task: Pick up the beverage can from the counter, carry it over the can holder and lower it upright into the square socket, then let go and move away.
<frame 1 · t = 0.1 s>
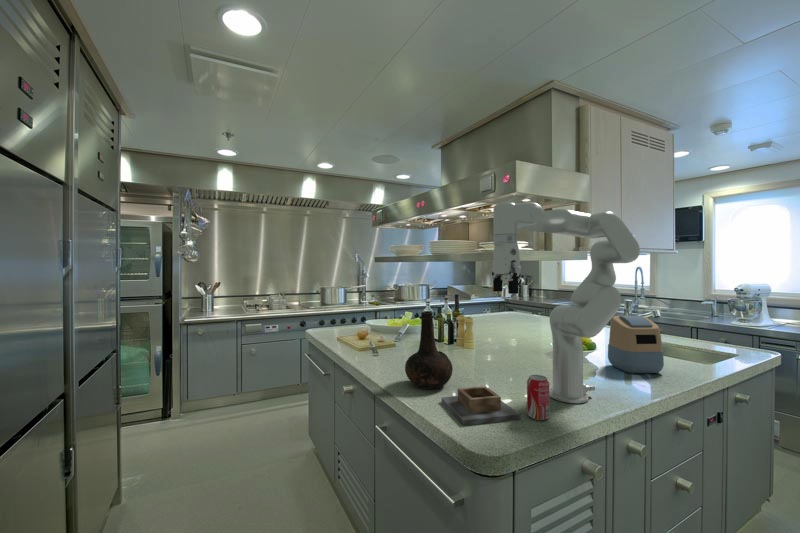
hand: (505, 292, 115), 37 cm above the counter, tool pointing down, fingers open, 9 cm apart
tan and blue appliance: (634, 370, 153), on the counter
can holder: (478, 410, 110), on the counter
dark brown vase: (428, 385, 133), on the counter
beverage can: (538, 418, 104), on the counter
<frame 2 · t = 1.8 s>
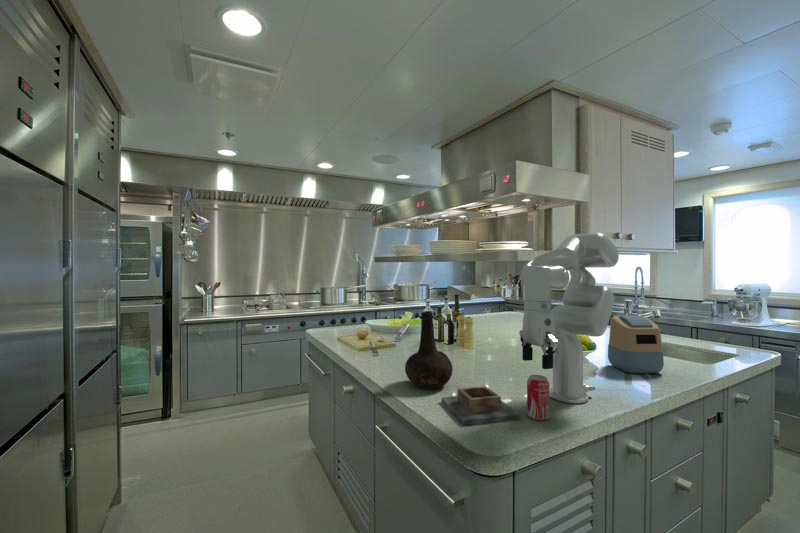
hand: (537, 364, 104), 16 cm above the counter, tool pointing down, fingers open, 9 cm apart
nothing on the counter moved.
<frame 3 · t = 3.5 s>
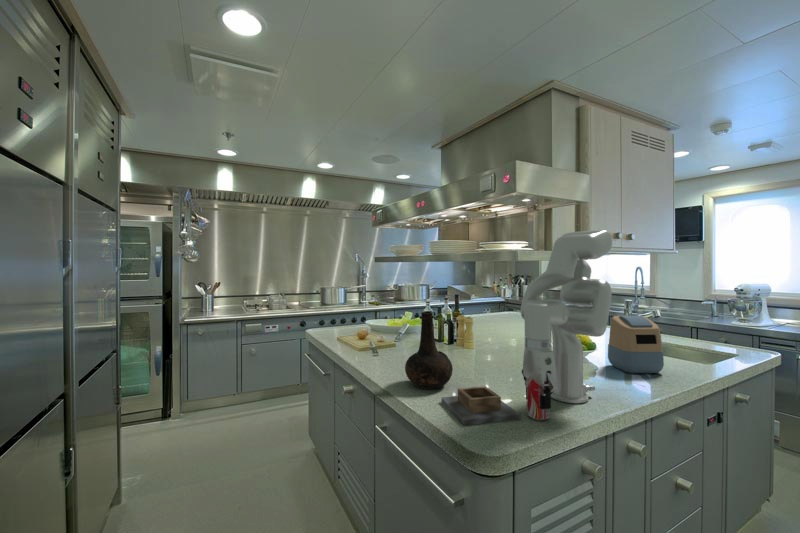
hand: (538, 403, 104), 4 cm above the counter, tool pointing down, fingers closed on beverage can, 6 cm apart
beverage can: (538, 418, 104), on the counter, touching gripper
everything else where it was.
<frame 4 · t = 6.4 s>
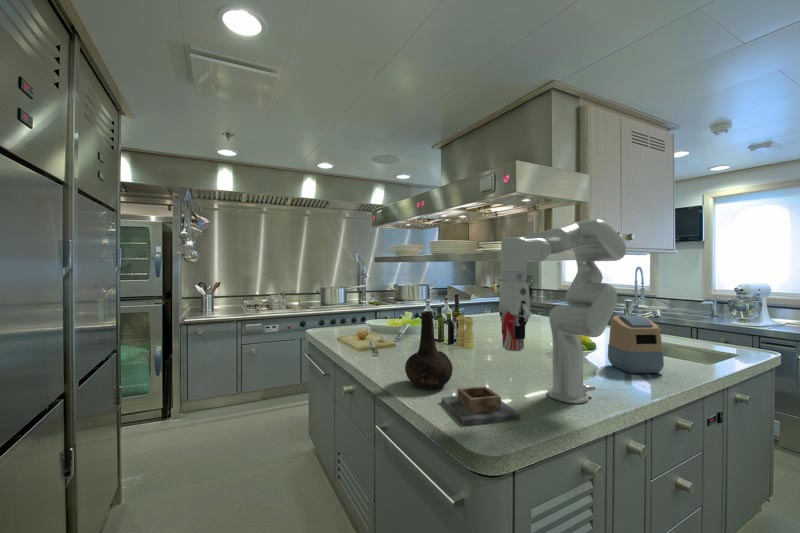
hand: (513, 336, 106), 24 cm above the counter, tool pointing down, fingers closed on beverage can, 6 cm apart
beverage can: (513, 350, 106), point 20 cm above the counter, touching gripper
everything else where it was.
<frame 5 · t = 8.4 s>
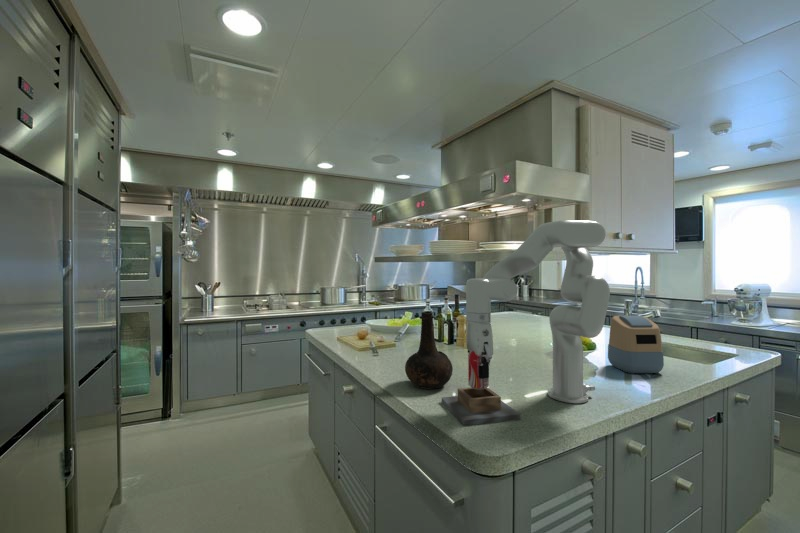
hand: (478, 374, 110), 11 cm above the counter, tool pointing down, fingers closed on beverage can, 6 cm apart
beverage can: (478, 388, 110), point 7 cm above the counter, touching gripper
everything else where it was.
when the fingers open (6 cm above the counter, at t = 9.8 s): beverage can stays where it is, resting on can holder.
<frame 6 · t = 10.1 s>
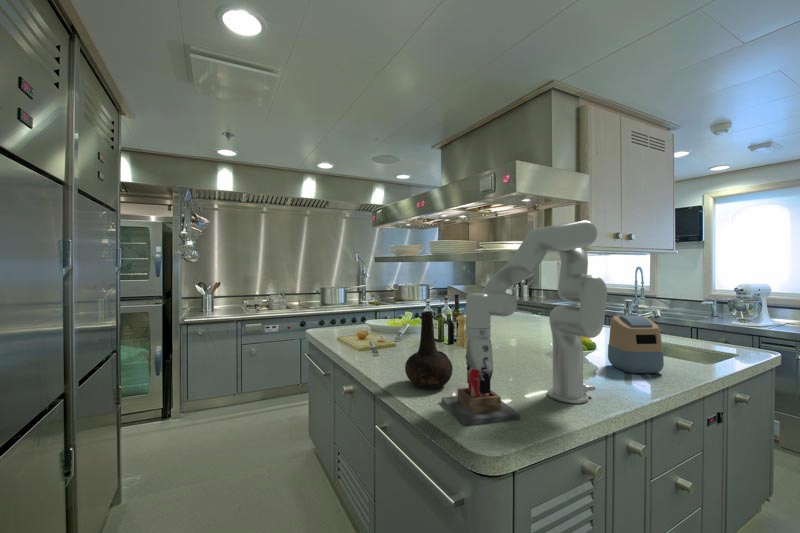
hand: (478, 387, 110), 7 cm above the counter, tool pointing down, fingers open, 8 cm apart
beverage can: (478, 405, 110), point 1 cm above the counter, touching can holder
everything else where it was.
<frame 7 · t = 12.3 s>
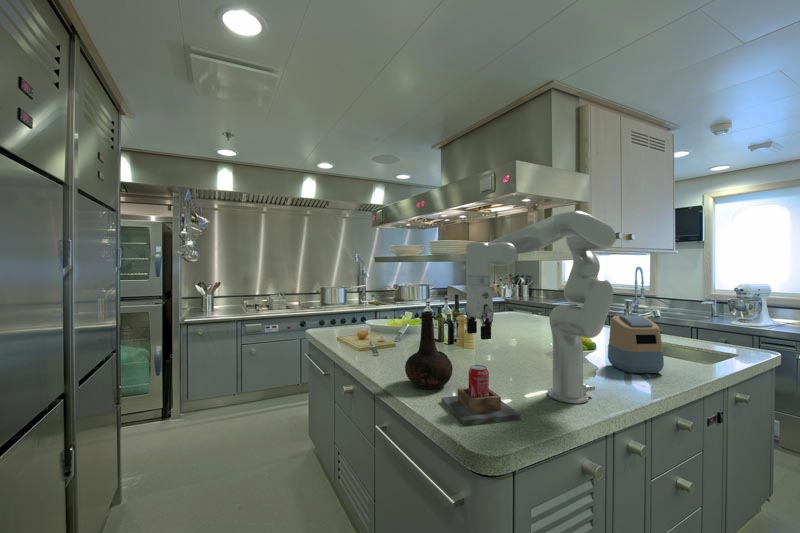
hand: (478, 336, 110), 23 cm above the counter, tool pointing down, fingers open, 9 cm apart
nothing on the counter moved.
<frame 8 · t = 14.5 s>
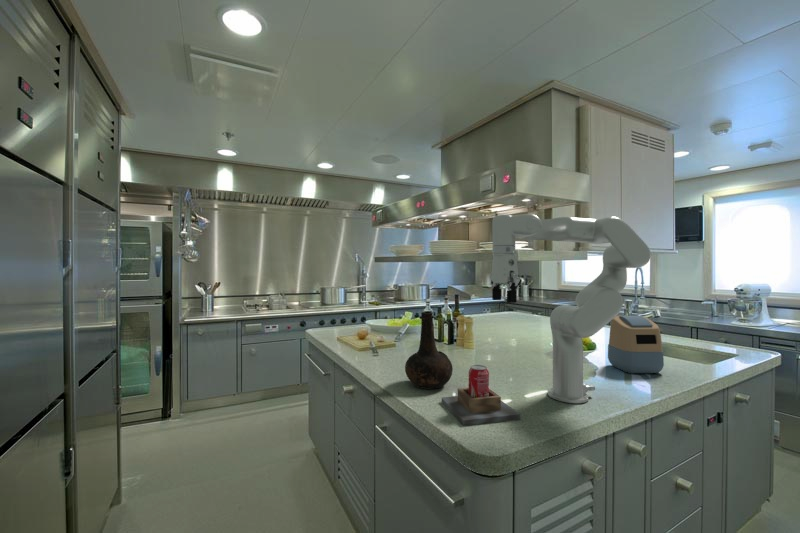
hand: (503, 301, 120), 33 cm above the counter, tool pointing down, fingers open, 9 cm apart
nothing on the counter moved.
at the end: beverage can 0.3 cm off-centre on the can holder, point 1.3 cm above the can holder's base; beverage can tilted 0°; the gripper is holding nothing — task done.
